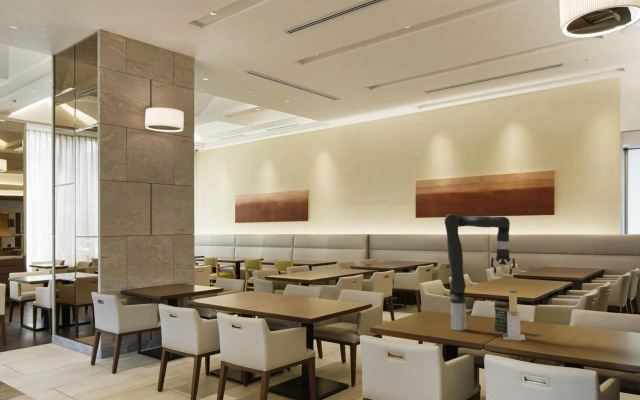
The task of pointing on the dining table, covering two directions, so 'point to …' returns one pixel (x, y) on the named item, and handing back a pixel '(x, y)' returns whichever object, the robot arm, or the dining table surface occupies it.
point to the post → (513, 301)
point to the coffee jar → (501, 316)
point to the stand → (513, 327)
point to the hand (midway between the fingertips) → (502, 274)
